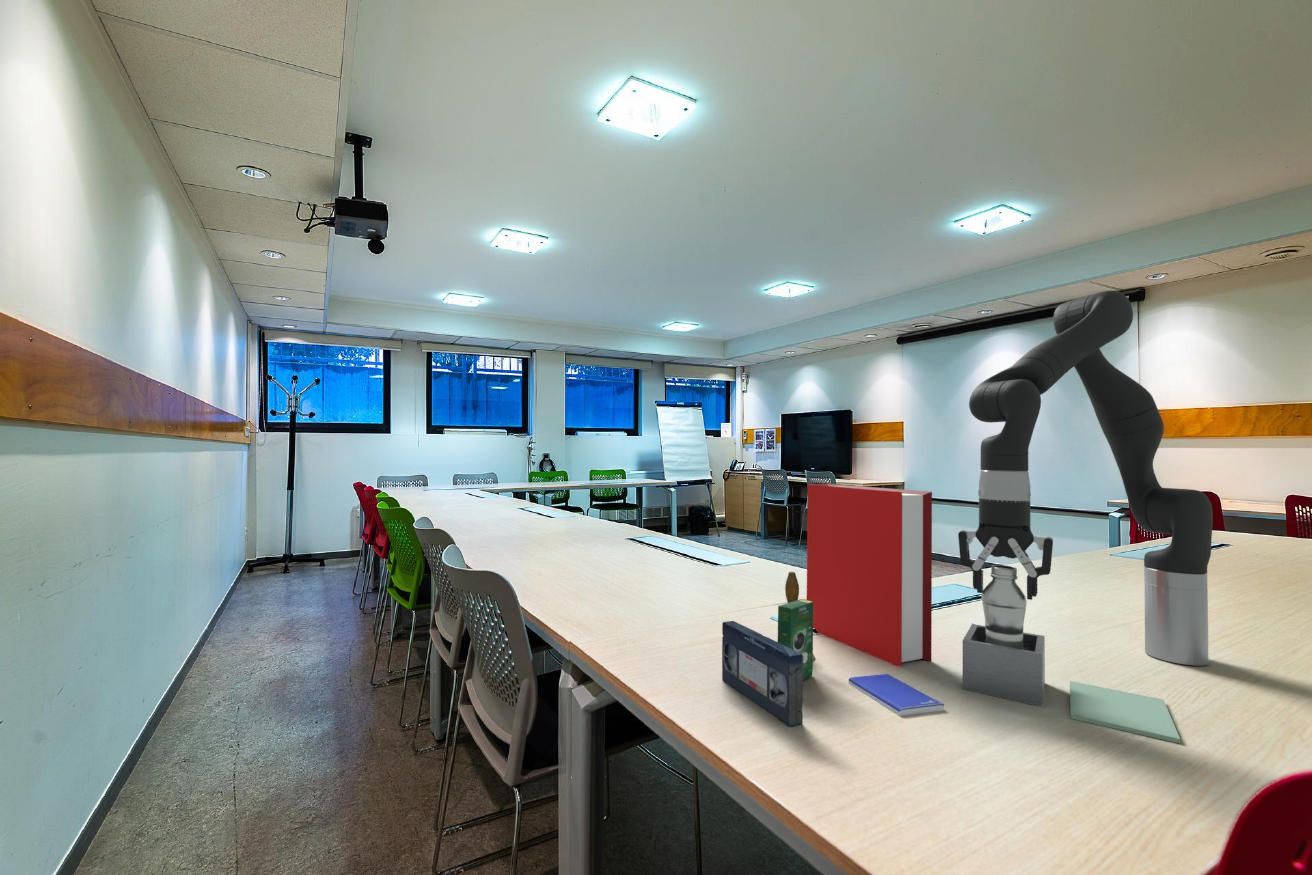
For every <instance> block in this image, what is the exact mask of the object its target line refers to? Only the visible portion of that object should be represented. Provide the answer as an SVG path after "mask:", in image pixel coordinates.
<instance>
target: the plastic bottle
mask: <svg viewBox="0 0 1312 875" xmlns="http://www.w3.org/2000/svg"><path fill="white" fill-rule="evenodd" d="M990 571H991V572H990V577H991V578H992V579H991V580H990V582H989V583H988V584H987V585H986V586H985V587H984V588H983V592H982V593H981V602H982V607H983V615H984V626H985V627H986V640H985V643H989V644H995V645H1000V646H1006V647H1011V648H1017V649H1023V650H1024V646H1023V632H1024V623H1025V617H1026V612H1027V610H1026V609H1027V603H1028V602H1027V597H1026V595H1025V593H1024V592H1023V590H1022V589H1021V587H1020V586H1019V585H1018V583H1017V582H1016V580H1019V579H1018V569H1017V567H1015V566H1011V565H1005V564H992V565H991V570H990Z"/></svg>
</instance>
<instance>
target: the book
mask: <svg viewBox="0 0 1312 875" xmlns="http://www.w3.org/2000/svg"><path fill="white" fill-rule="evenodd" d="M806 519H807V520H806V521H807V525H806V526H807V528H806V529H807V531H806V533H807V534H806V536H807V537H806V543H807V544H806V550H807V551H806V600H809V601H813V628H815V629H816V631H817V632H816V633H818V634H819V635H820V634H821V635H823V636H825V637H828V638H829V639H832V640H834V641H837V642H839V643H841V644H844V645H846V646H849V647H851V648H854V649H856V650H858V651H860V652H863V653H865V654H867V655H870V656H872V657H874V658H877V659H880V660H882V661H884V662H887V663H889V664H890V665H891V664H892V666H893V665H894V666H896V667H898V668H902V663H905V662H911V661H915V660H921V659H923V660H926V661H928V662H932V622H933V621H932V617H933V616H932V615H933V612H932V611H933V609H932V607H933V605H932V602H933V600H932V599H933V598H932V597H933V596H932V595H933V594H932V592H933V591H932V590H933V589H932V588H933V586H932V584H933V583H932V581H933V579H932V575H933V574H932V571H933V563H932V562H933V560H932V559H933V558H932V557H933V549H932V547H933V538H932V537H933V533H932V532H933V530H932V529H933V492H932V491H926V490H916V489H915V490H913V489H899V488H886V487H885V488H884V487H874V486H873V487H872V486H861V485H846V484H833V483H832V484H831V483H826V484H825V483H821V484H819V483H816V484H815V483H814V484H812V483H811V484H807V517H806Z"/></svg>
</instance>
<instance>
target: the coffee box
mask: <svg viewBox="0 0 1312 875" xmlns="http://www.w3.org/2000/svg"><path fill="white" fill-rule="evenodd" d="M777 607H778V608H777V642H778V643H780V644H782V645H784V646H786V647H789V648H790V649H792V650H794V651H796V652H797V653H800V654H802V655H803V667H802V670H803V681H805V680H808V679H809V678H810V677H812V676H813V669H814V668H813V667H814V666H813V665H814V664H813V662H814V660H813V654H814V652H813V651H814V631H813V601H809V600H807V599H800V598H799V599H798V600H796V601H793V602H790V603H788V602H787V603H784V604H783V603H782V604H780V605H778V606H777Z"/></svg>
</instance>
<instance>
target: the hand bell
mask: <svg viewBox="0 0 1312 875" xmlns="http://www.w3.org/2000/svg"><path fill="white" fill-rule="evenodd" d="M784 585H785V586H784V587H785V588H784V590H785V598H786V601H787V603H790V602H793V601H796V600H799V597H800V596H799V595H800V585H799V581H798V578H797V575H796V571H789V572H788V574H787V577H786V580H785V584H784ZM815 658H816V657H815V654H814V653H813V661H814V660H815Z"/></svg>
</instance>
